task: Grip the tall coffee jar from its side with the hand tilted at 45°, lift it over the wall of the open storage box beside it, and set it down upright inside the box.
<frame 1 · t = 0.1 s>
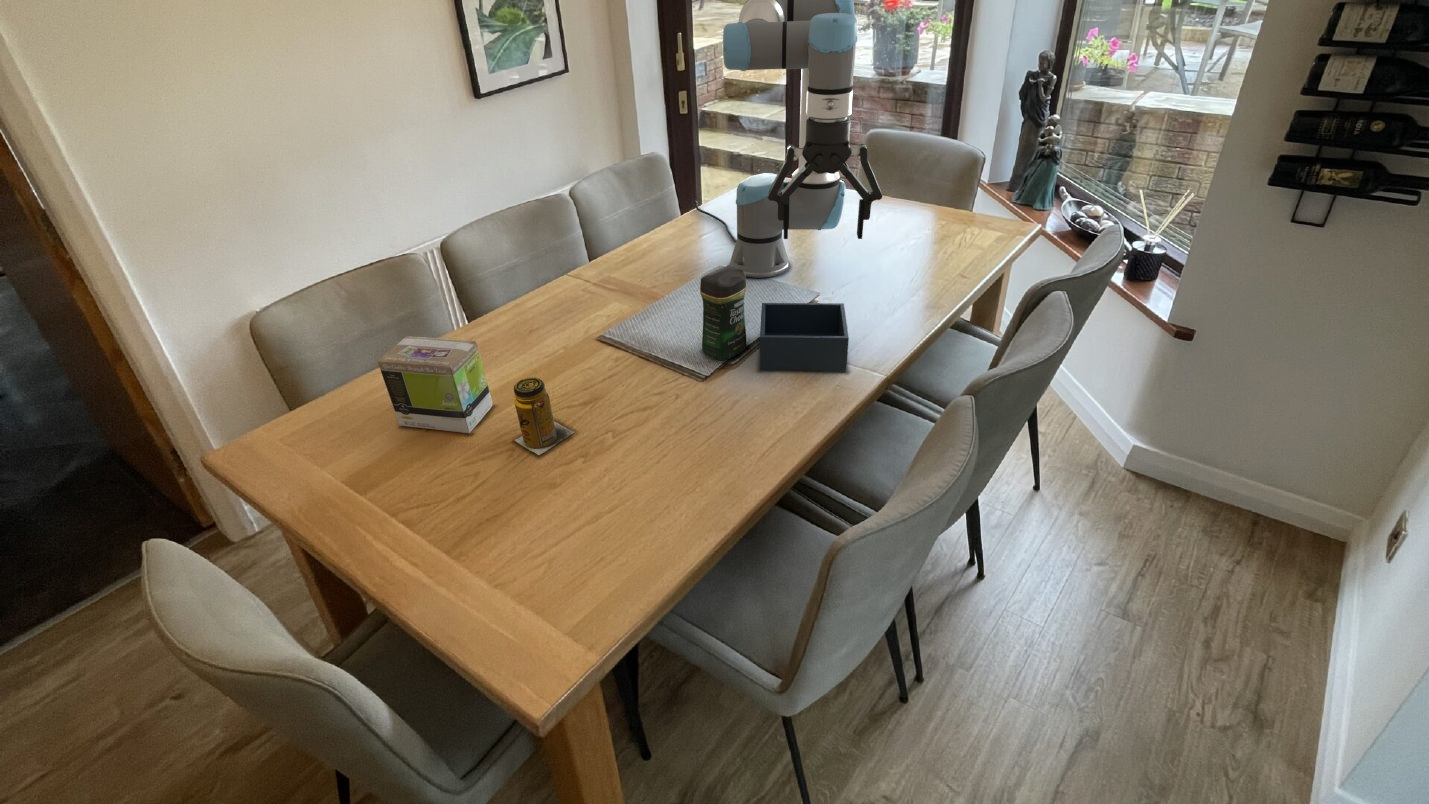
hand: (822, 236, 136), 28 cm above the table, tool pointing down, fingers open, 13 cm apart
tea box: (447, 416, 141), on the table
open storage box: (802, 352, 156), on the table
condiment: (544, 438, 134), on the table
coffee jar: (725, 351, 157), on the table
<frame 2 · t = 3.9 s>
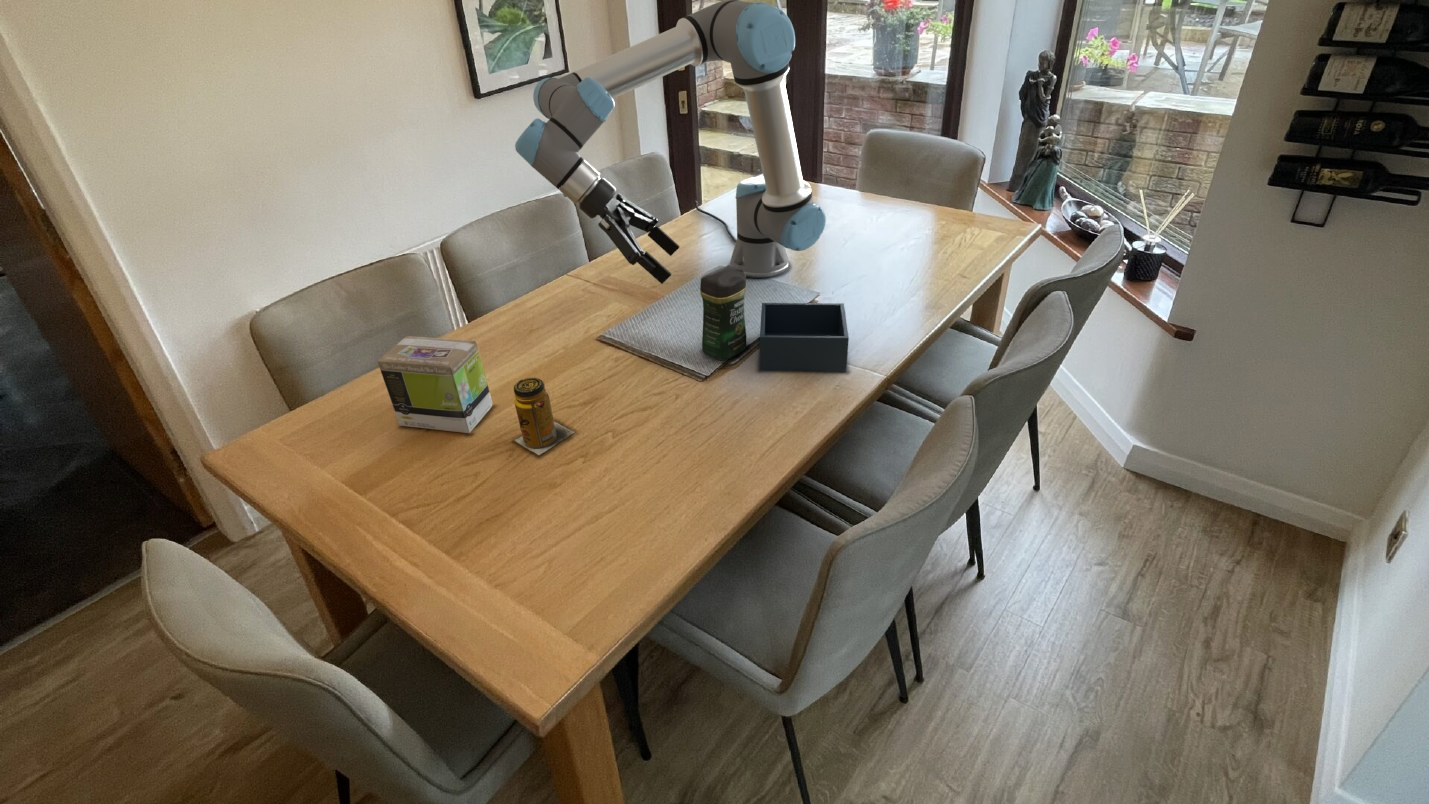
hand: (671, 264, 147), 20 cm above the table, tool tilted 45°, fingers open, 13 cm apart
nothing on the table moved.
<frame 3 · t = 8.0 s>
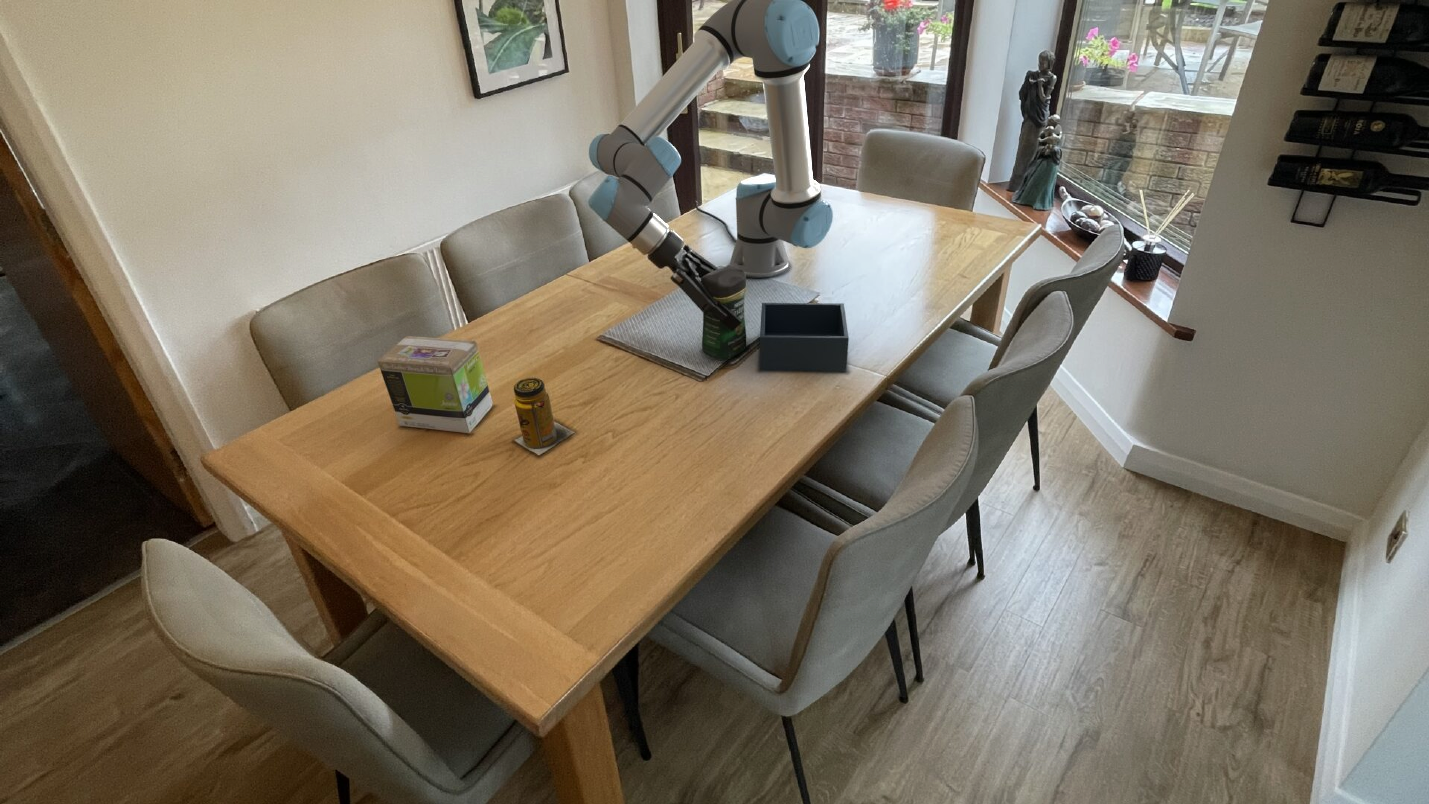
hand: (738, 314, 152), 9 cm above the table, tool tilted 45°, fingers closed on coffee jar, 10 cm apart
coffee jar: (725, 351, 157), on the table, touching gripper
everything else where it was.
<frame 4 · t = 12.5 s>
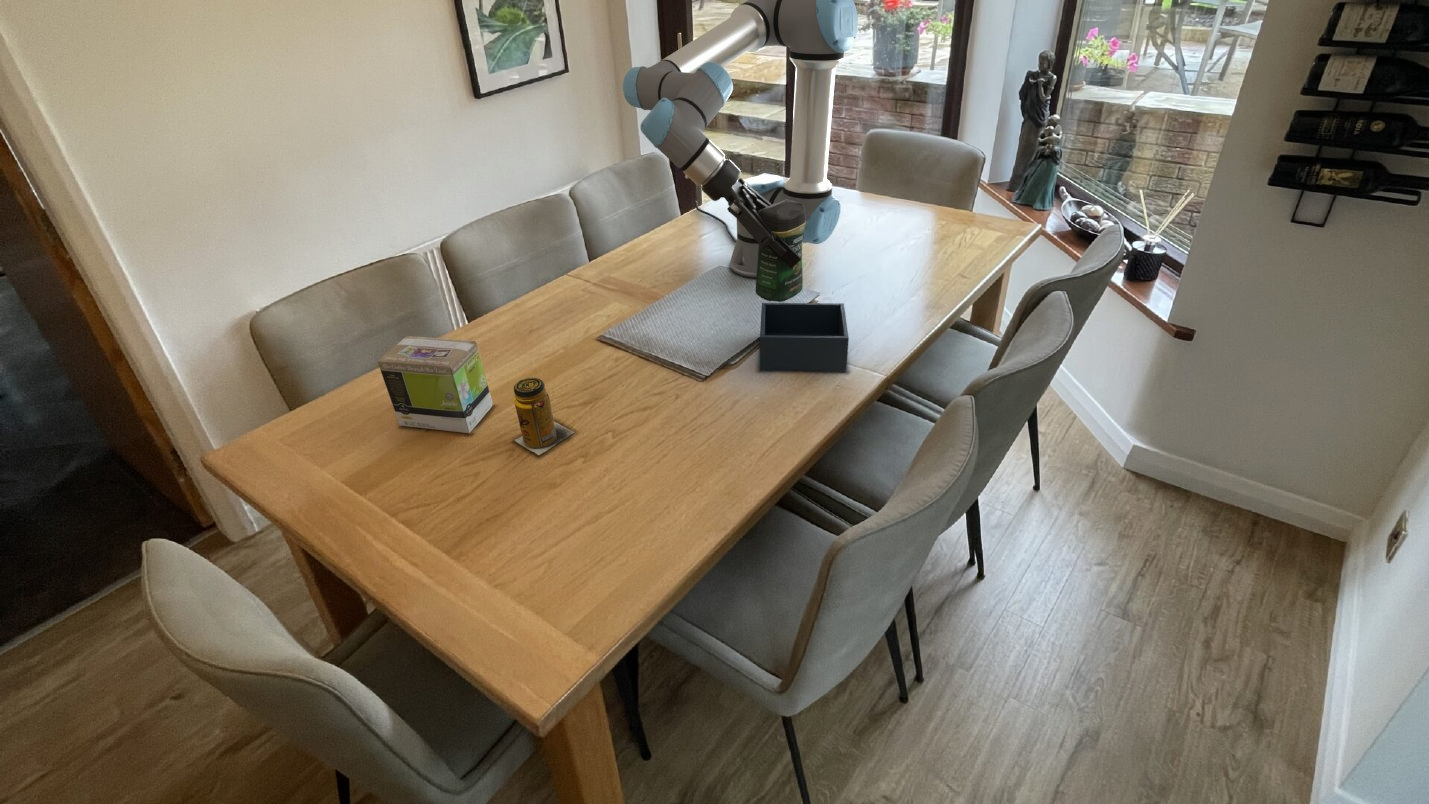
hand: (796, 252, 143), 23 cm above the table, tool tilted 45°, fingers closed on coffee jar, 10 cm apart
coffee jar: (779, 294, 148), point 14 cm above the table, touching gripper
everything else where it was.
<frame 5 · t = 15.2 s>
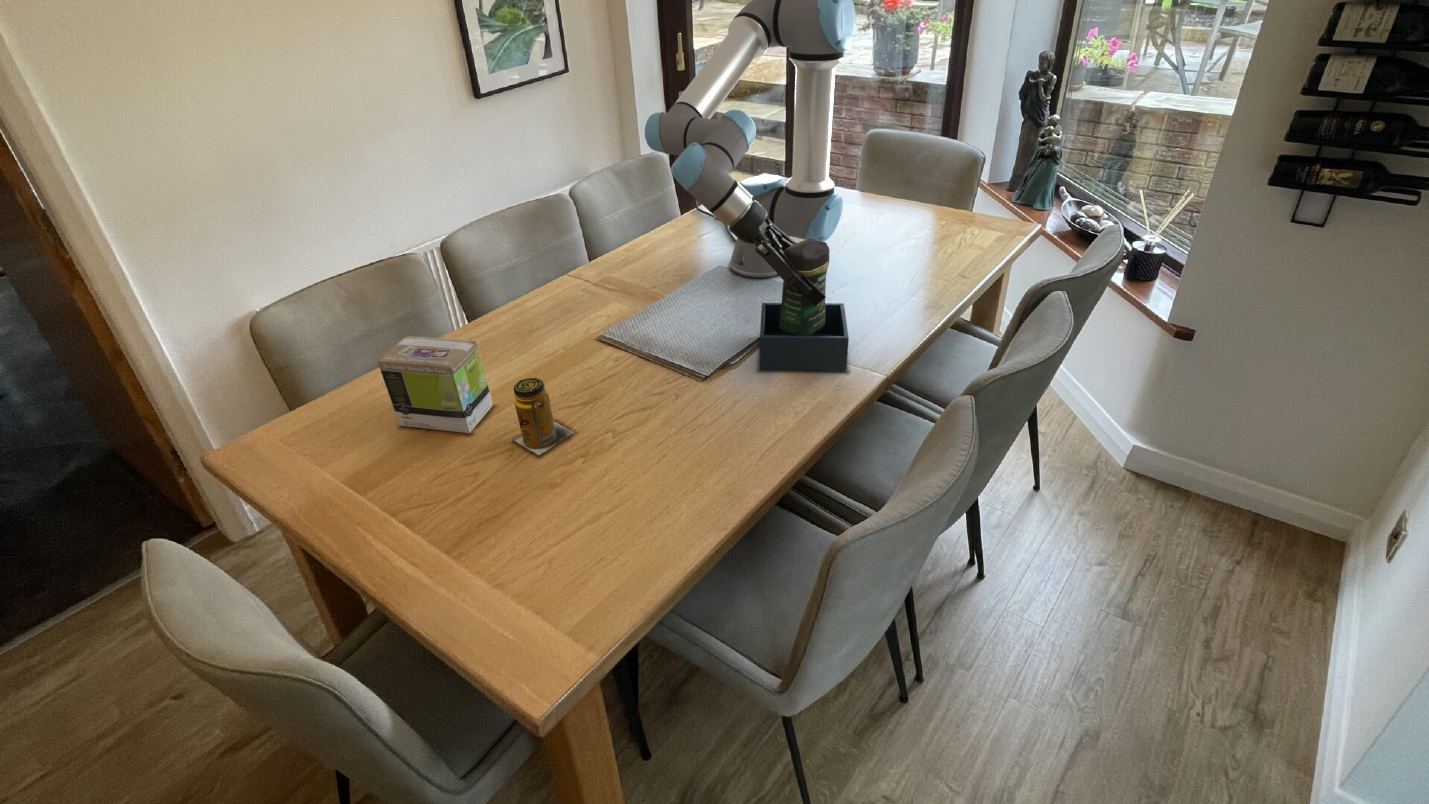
hand: (819, 289, 147), 15 cm above the table, tool tilted 45°, fingers closed on coffee jar, 10 cm apart
coffee jar: (802, 328, 152), point 6 cm above the table, touching gripper
everything else where it was.
when the fingers open (10 cm above the table, at t = 17.2 s): coffee jar stays where it is, resting on open storage box.
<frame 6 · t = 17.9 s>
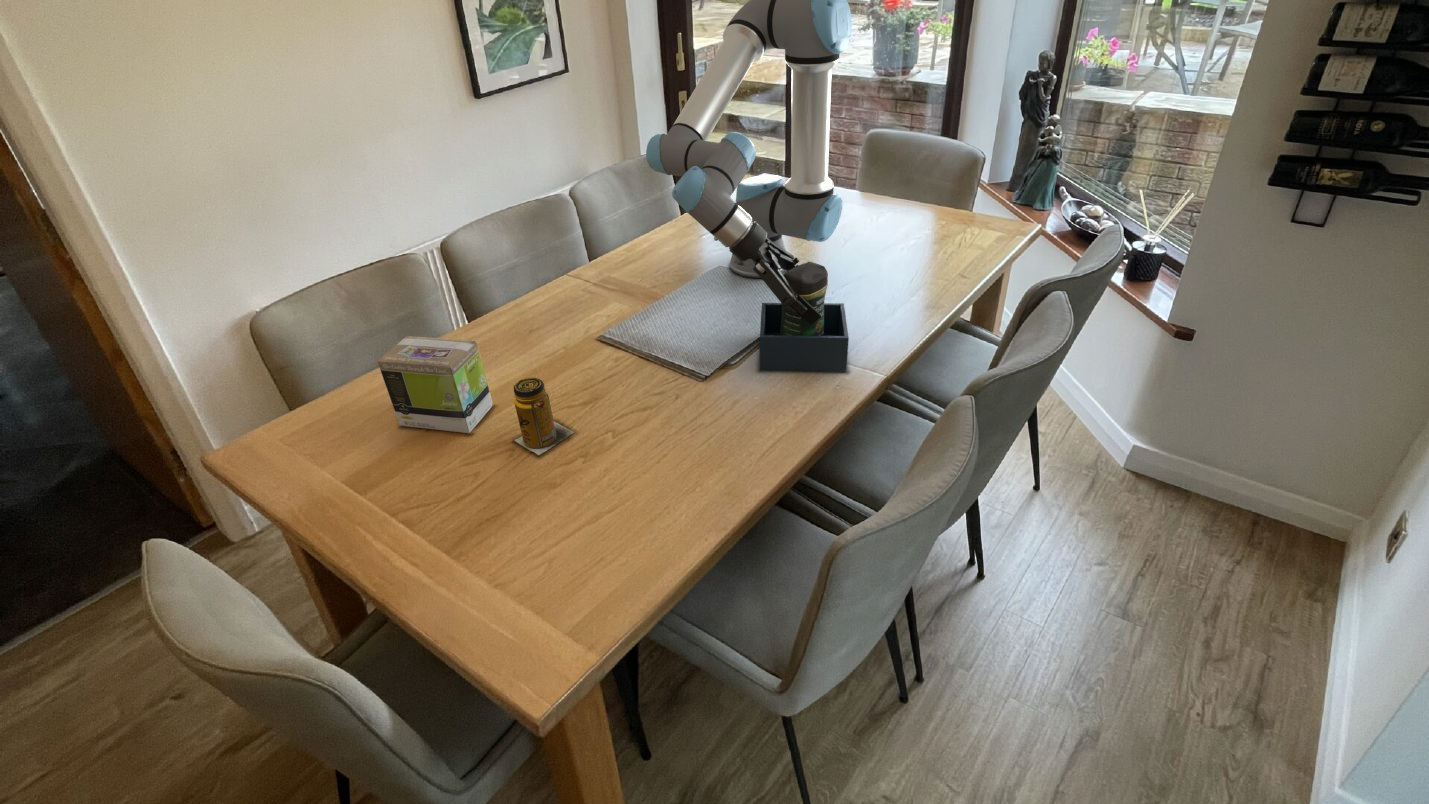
hand: (815, 304, 149), 11 cm above the table, tool tilted 45°, fingers open, 13 cm apart
coffee jar: (801, 349, 155), point 1 cm above the table, touching open storage box
everything else where it was.
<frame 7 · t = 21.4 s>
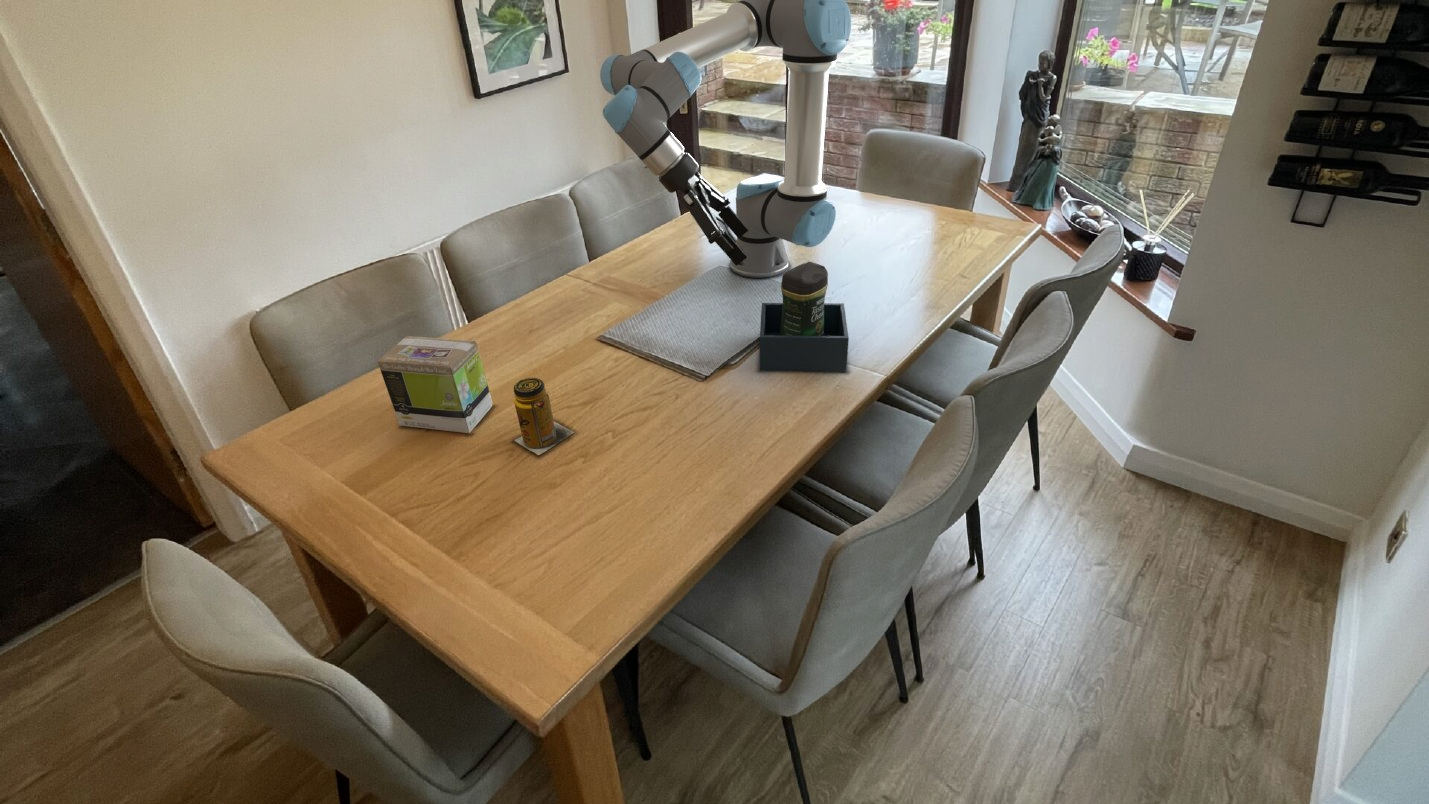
hand: (742, 247, 145), 23 cm above the table, tool tilted 40°, fingers open, 13 cm apart
nothing on the table moved.
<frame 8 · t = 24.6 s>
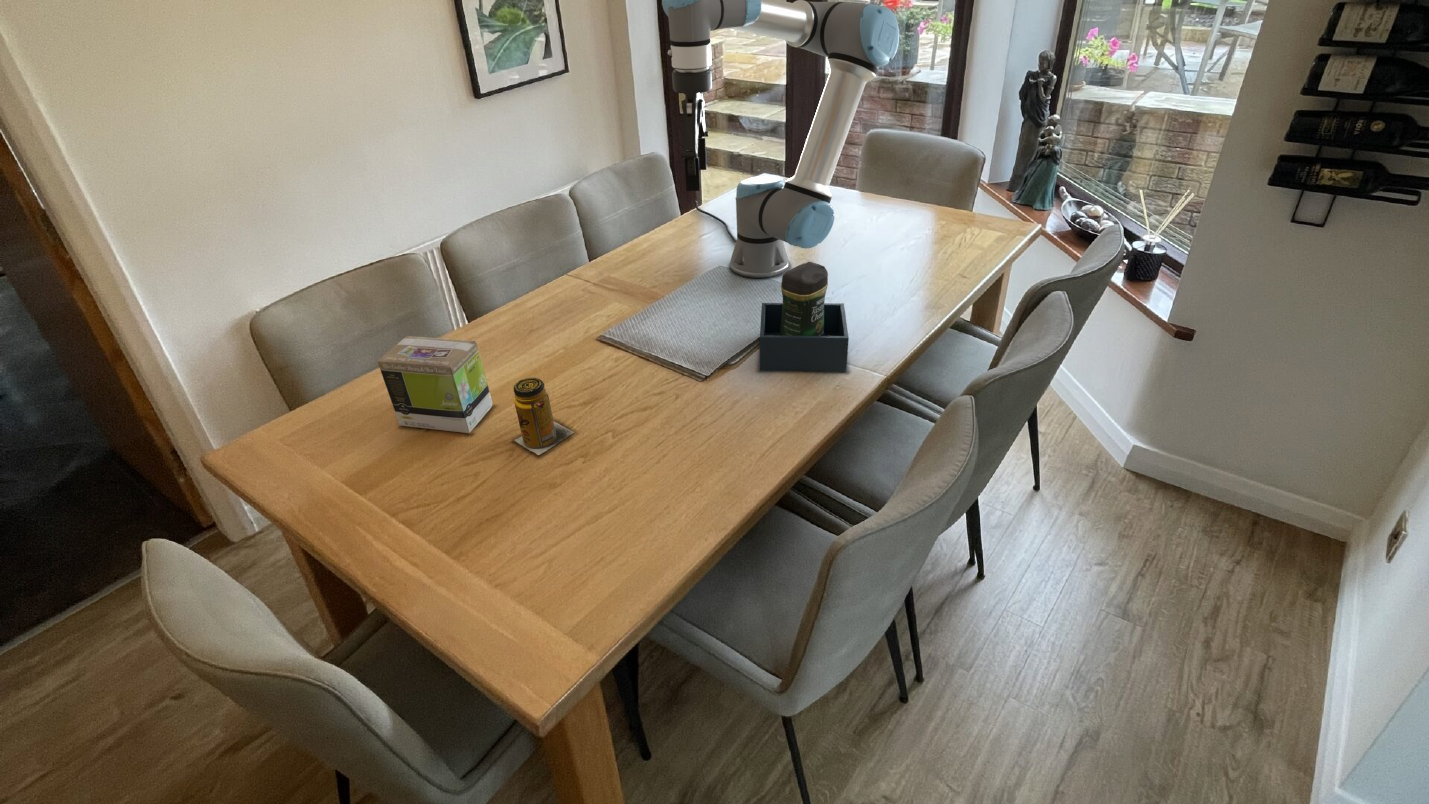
hand: (696, 179, 151), 33 cm above the table, tool pointing down, fingers open, 13 cm apart
nothing on the table moved.
at the end: coffee jar inside the target area in the open storage box (0.1 cm from its centre), point 0.8 cm above the open storage box's base; coffee jar tilted 0°; the gripper is holding nothing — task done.
